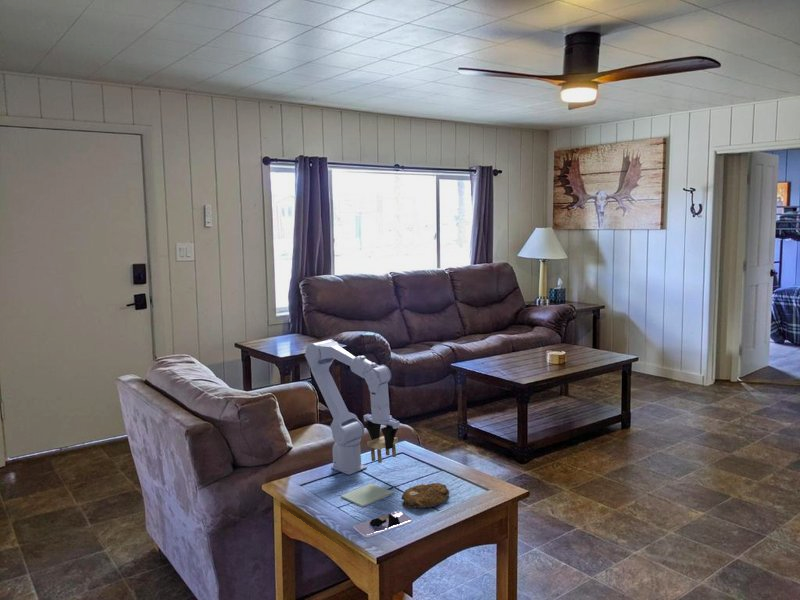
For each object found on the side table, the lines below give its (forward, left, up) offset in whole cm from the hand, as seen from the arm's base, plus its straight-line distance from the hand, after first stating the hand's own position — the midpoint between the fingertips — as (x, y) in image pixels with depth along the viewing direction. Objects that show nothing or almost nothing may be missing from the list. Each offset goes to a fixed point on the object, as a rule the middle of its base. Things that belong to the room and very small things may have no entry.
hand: (382, 446), depth 195 cm
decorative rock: (+21, -3, -11) cm, 24 cm away
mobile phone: (+22, -21, -11) cm, 33 cm away
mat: (+5, -12, -10) cm, 17 cm away
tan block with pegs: (0, 0, -4) cm, 4 cm away
